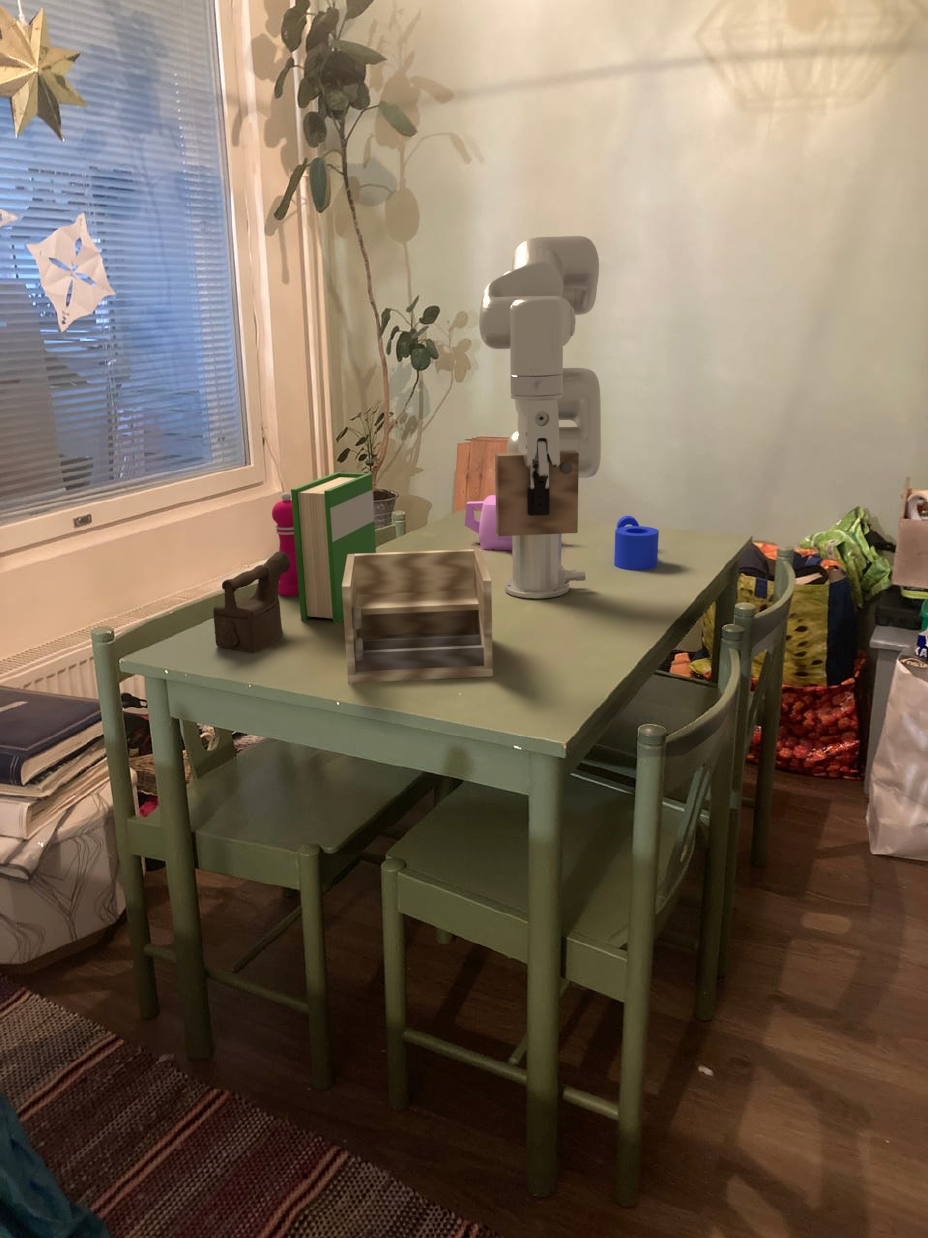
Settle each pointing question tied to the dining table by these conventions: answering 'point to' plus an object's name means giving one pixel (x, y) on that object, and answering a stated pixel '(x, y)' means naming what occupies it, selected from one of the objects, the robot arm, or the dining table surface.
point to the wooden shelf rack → (417, 615)
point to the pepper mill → (286, 544)
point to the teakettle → (487, 525)
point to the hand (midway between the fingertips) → (536, 511)
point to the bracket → (635, 545)
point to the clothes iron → (252, 608)
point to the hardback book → (330, 537)
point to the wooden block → (515, 496)
